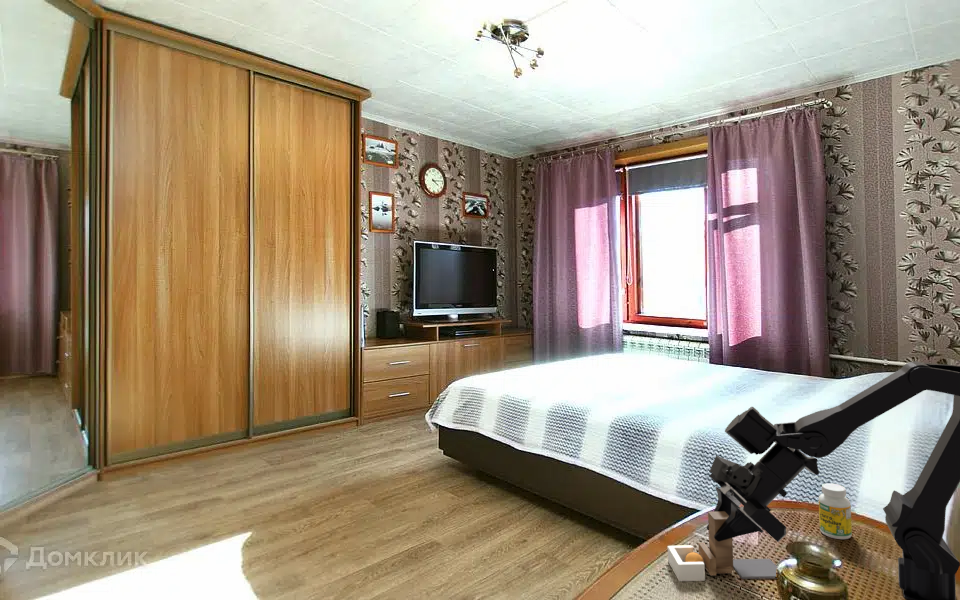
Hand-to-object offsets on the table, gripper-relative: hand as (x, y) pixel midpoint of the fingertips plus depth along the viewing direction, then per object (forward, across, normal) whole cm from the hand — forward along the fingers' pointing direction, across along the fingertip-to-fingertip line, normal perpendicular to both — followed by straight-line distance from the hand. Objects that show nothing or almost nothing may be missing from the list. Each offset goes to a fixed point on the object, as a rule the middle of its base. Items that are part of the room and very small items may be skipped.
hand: (712, 534), depth 93 cm
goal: (+8, 0, +1) cm, 8 cm away
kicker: (+4, 0, +5) cm, 6 cm away
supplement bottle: (-15, -12, +25) cm, 32 cm away
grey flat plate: (-1, 0, +10) cm, 10 cm away
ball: (+6, 0, +1) cm, 6 cm away
